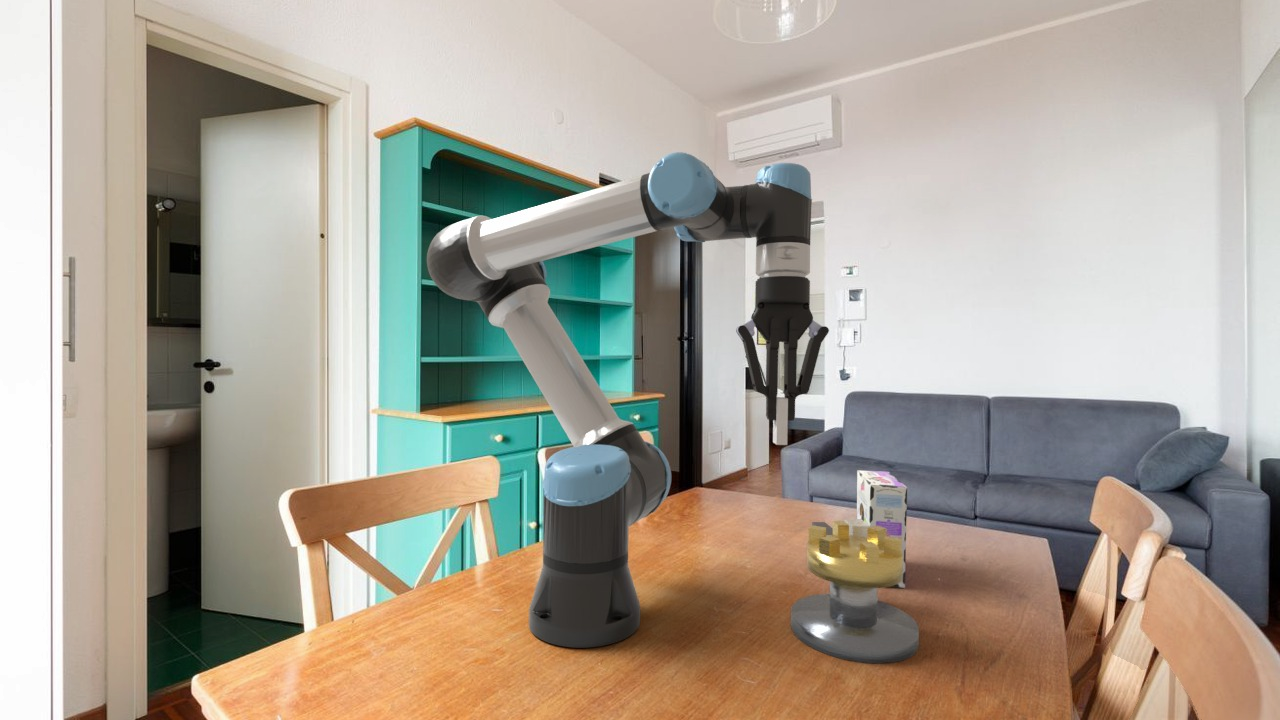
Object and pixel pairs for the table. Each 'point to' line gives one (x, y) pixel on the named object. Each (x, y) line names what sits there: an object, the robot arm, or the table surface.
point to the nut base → (855, 639)
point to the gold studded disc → (854, 556)
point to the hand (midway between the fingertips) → (779, 443)
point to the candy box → (883, 505)
